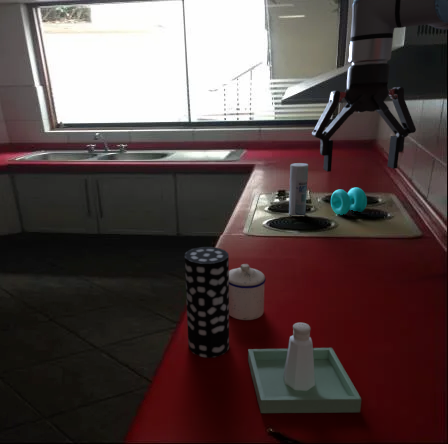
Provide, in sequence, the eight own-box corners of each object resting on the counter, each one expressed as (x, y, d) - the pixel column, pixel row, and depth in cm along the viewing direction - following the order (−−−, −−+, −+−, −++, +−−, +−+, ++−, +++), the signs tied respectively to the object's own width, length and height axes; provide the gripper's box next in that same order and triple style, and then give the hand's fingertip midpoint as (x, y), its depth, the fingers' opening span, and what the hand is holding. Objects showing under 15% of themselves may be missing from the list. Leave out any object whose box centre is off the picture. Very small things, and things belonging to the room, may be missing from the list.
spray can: (296, 211, 169) (298, 162, 163) (309, 215, 163) (312, 164, 157) (284, 214, 166) (286, 164, 160) (297, 218, 160) (299, 166, 154)
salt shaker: (310, 395, 69) (314, 338, 66) (278, 385, 72) (280, 329, 69) (318, 376, 74) (322, 322, 70) (287, 367, 76) (290, 314, 73)
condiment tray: (331, 359, 79) (332, 347, 78) (360, 412, 66) (361, 399, 65) (247, 360, 80) (248, 349, 79) (260, 413, 67) (260, 400, 66)
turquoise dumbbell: (367, 215, 158) (369, 190, 155) (343, 218, 157) (345, 192, 154) (350, 208, 168) (352, 184, 165) (328, 211, 166) (330, 187, 163)
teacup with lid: (270, 307, 98) (272, 262, 95) (255, 325, 91) (255, 277, 88) (225, 295, 105) (224, 252, 101) (207, 311, 98) (206, 266, 95)
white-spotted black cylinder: (195, 331, 91) (192, 245, 84) (233, 337, 87) (232, 249, 81) (182, 353, 83) (178, 261, 77) (223, 361, 80) (222, 265, 74)
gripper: (423, 60, 86) (410, 163, 92) (300, 68, 87) (295, 168, 94) (445, 58, 79) (429, 169, 85) (310, 66, 80) (305, 175, 87)
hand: (359, 169), depth 90 cm, fingers open, 13 cm apart
